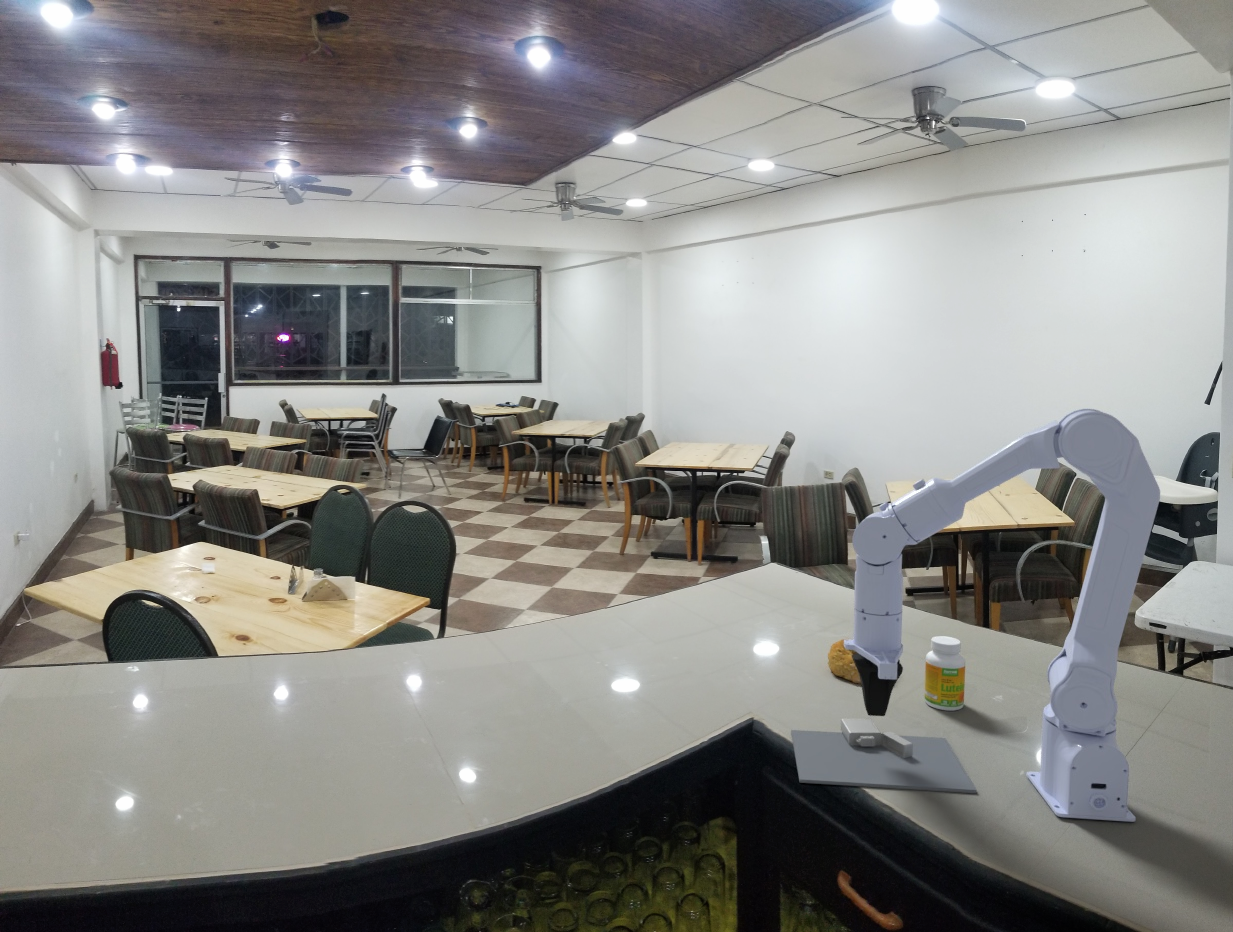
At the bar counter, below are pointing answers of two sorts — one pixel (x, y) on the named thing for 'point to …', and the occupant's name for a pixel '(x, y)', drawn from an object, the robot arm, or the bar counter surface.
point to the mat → (878, 763)
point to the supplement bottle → (945, 674)
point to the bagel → (843, 662)
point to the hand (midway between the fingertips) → (875, 713)
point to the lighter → (874, 736)
